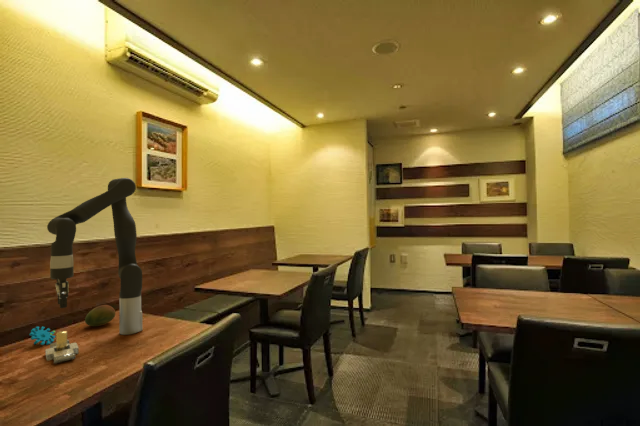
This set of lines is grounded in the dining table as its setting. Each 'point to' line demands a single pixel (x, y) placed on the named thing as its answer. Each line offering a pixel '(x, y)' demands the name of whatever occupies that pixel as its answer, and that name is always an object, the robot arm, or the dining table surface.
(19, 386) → the dining table surface
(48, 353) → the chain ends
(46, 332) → the gear
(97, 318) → the fruit
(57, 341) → the pin
